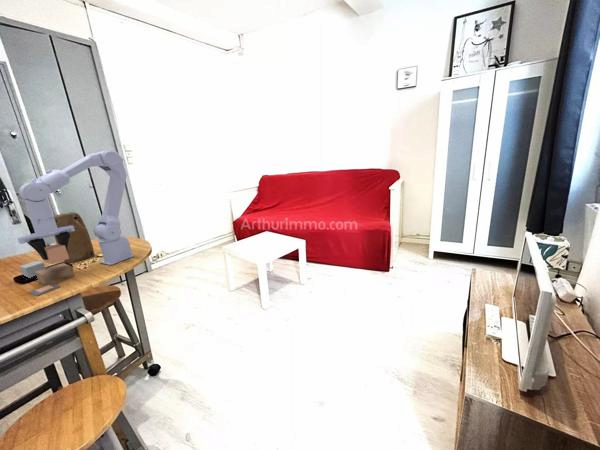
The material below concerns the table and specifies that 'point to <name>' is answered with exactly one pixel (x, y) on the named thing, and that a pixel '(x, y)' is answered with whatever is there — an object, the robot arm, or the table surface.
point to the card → (44, 289)
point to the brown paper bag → (75, 237)
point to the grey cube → (31, 268)
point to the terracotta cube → (56, 253)
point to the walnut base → (55, 274)
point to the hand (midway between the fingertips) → (55, 256)
